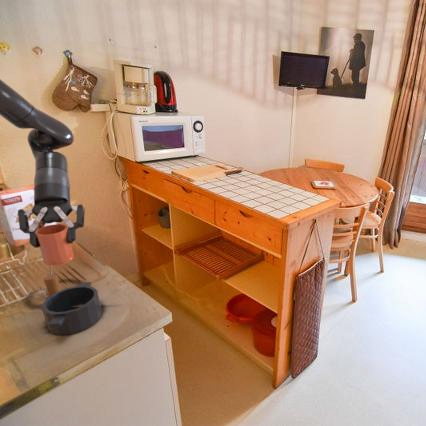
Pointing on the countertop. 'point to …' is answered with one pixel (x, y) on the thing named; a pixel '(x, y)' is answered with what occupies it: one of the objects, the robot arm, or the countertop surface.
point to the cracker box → (16, 213)
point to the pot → (72, 309)
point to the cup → (54, 244)
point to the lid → (52, 284)
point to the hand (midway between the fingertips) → (53, 244)
